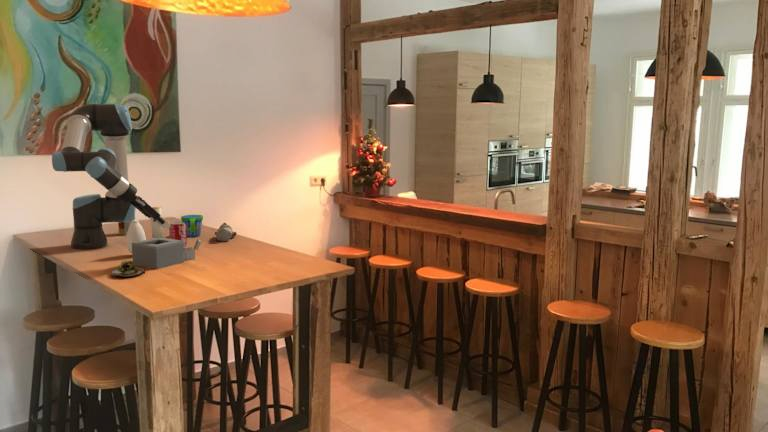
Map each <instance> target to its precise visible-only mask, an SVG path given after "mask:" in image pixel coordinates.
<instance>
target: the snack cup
mask: <svg viewBox="0 0 768 432" xmlns="http://www.w3.org/2000/svg"><path fill="white" fill-rule="evenodd" d="M180 220H181V222H185V225H186V237H187V238H196V237H200V236H201V233H202V225H203V220H204V216H203V215H201V214H187V215H181V216H180Z"/></svg>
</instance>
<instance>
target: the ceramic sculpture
mask: <svg viewBox="0 0 768 432" xmlns="http://www.w3.org/2000/svg"><path fill="white" fill-rule="evenodd" d="M237 234H238V233H237V232H236V231H233V229H232V226H230V225H229V224H227V223H226V222H223V223H222V224H221V225H219V228H218V229H217V231H215V232H214V236H216V239H217V240H218V241H220V242H222V243H223V242H228V241H230V240H231V238H235V237H236V236H237Z"/></svg>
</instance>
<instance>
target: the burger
mask: <svg viewBox="0 0 768 432" xmlns="http://www.w3.org/2000/svg"><path fill="white" fill-rule="evenodd" d="M110 273H111V274H112V275H111V276H110V277H112V278H113V279H116V277H121V278H122V277H123V278H124V277H125V278H126V277H134V276H139V275H141V274H142V273H143V274H146V269H145V268H143V267H136V265H133V259H129V258H127V259H126V258H125V259H124V260H123V261H122V262H121V263H120V266H118V268H115V269H114V270H112V271H111V272H110Z"/></svg>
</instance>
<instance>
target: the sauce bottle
mask: <svg viewBox="0 0 768 432" xmlns="http://www.w3.org/2000/svg"><path fill="white" fill-rule="evenodd" d="M125 236H126V237H125V244H126V248H127V250H128V252H129V253H130V254H132V243H133V242H138V241H143V240H147V238H146V233H145V230H144V228H143V226H142V225H141V223H140V222H139V220H138V219H136V214H135V215H134V220H132V223H131V224H130V226H129V228H128V231H127V235H125Z"/></svg>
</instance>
